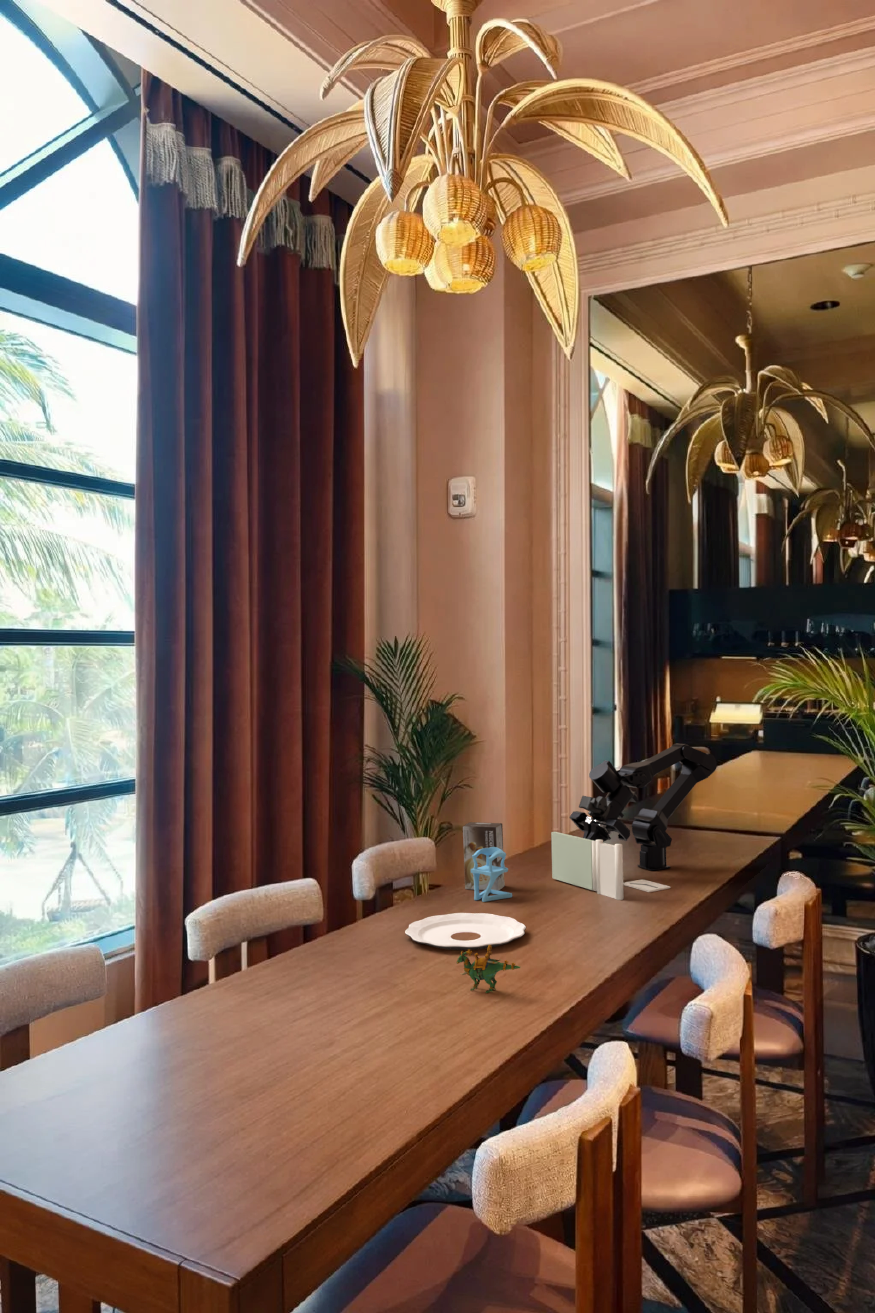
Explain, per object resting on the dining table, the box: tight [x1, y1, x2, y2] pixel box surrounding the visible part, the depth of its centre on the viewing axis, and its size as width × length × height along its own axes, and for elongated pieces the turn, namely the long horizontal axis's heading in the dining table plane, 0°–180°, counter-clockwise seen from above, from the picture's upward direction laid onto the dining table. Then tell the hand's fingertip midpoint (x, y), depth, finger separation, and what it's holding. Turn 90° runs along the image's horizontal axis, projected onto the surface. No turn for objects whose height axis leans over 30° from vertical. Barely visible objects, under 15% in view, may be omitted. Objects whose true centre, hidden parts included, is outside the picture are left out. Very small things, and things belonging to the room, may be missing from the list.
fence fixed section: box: [596, 839, 624, 901], centre depth 238 cm, size 9×2×13 cm, turn 31°
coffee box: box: [462, 821, 505, 891], centre depth 250 cm, size 9×6×16 cm
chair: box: [471, 847, 513, 903], centre depth 239 cm, size 8×8×12 cm
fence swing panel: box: [550, 831, 597, 892], centre depth 250 cm, size 17×1×12 cm, turn 31°
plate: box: [404, 912, 527, 951], centre depth 207 cm, size 25×25×2 cm
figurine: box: [456, 945, 521, 994], centre depth 173 cm, size 3×12×8 cm, turn 67°
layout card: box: [623, 878, 671, 893], centre depth 247 cm, size 10×7×1 cm
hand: (581, 850), depth 256 cm, fingers closed
